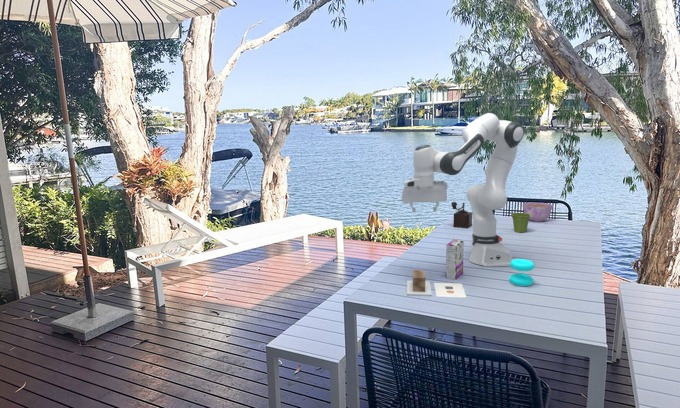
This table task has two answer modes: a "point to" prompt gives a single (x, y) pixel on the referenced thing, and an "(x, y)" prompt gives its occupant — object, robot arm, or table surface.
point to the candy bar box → (454, 259)
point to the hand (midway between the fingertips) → (424, 211)
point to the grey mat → (415, 293)
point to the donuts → (519, 277)
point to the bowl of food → (537, 210)
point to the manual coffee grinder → (462, 217)
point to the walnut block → (419, 280)
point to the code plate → (449, 290)
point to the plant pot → (520, 221)
